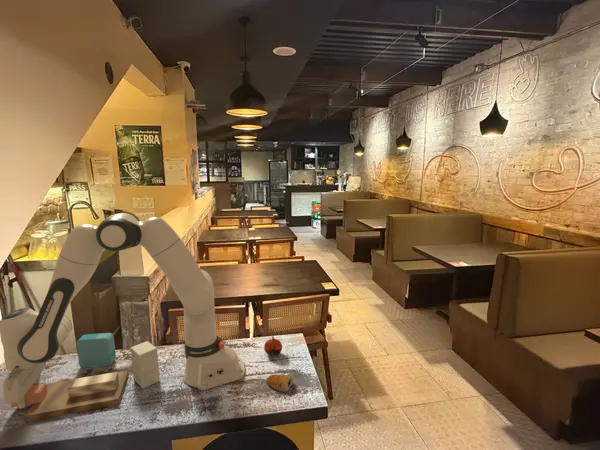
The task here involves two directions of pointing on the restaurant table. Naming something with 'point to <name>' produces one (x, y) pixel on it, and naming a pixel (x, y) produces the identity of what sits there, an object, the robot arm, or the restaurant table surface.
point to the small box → (145, 364)
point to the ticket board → (80, 395)
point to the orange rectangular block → (34, 394)
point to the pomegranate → (273, 347)
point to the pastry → (280, 382)
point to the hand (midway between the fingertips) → (29, 397)
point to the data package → (96, 350)
